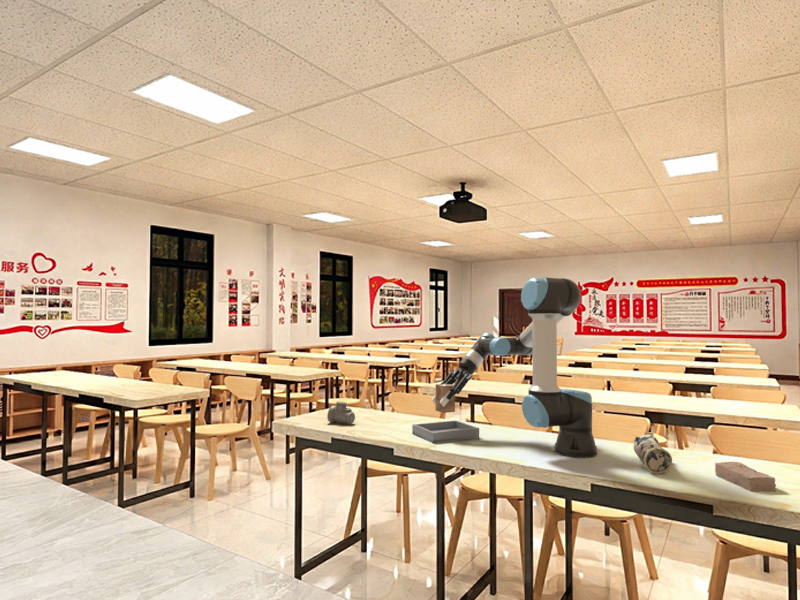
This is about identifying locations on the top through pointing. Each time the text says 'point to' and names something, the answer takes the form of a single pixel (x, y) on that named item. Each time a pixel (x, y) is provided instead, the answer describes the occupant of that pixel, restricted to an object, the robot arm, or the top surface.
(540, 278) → the robot arm
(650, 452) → the pencil case
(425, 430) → the tray
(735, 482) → the brick
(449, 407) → the bored block
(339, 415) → the pipe fitting
